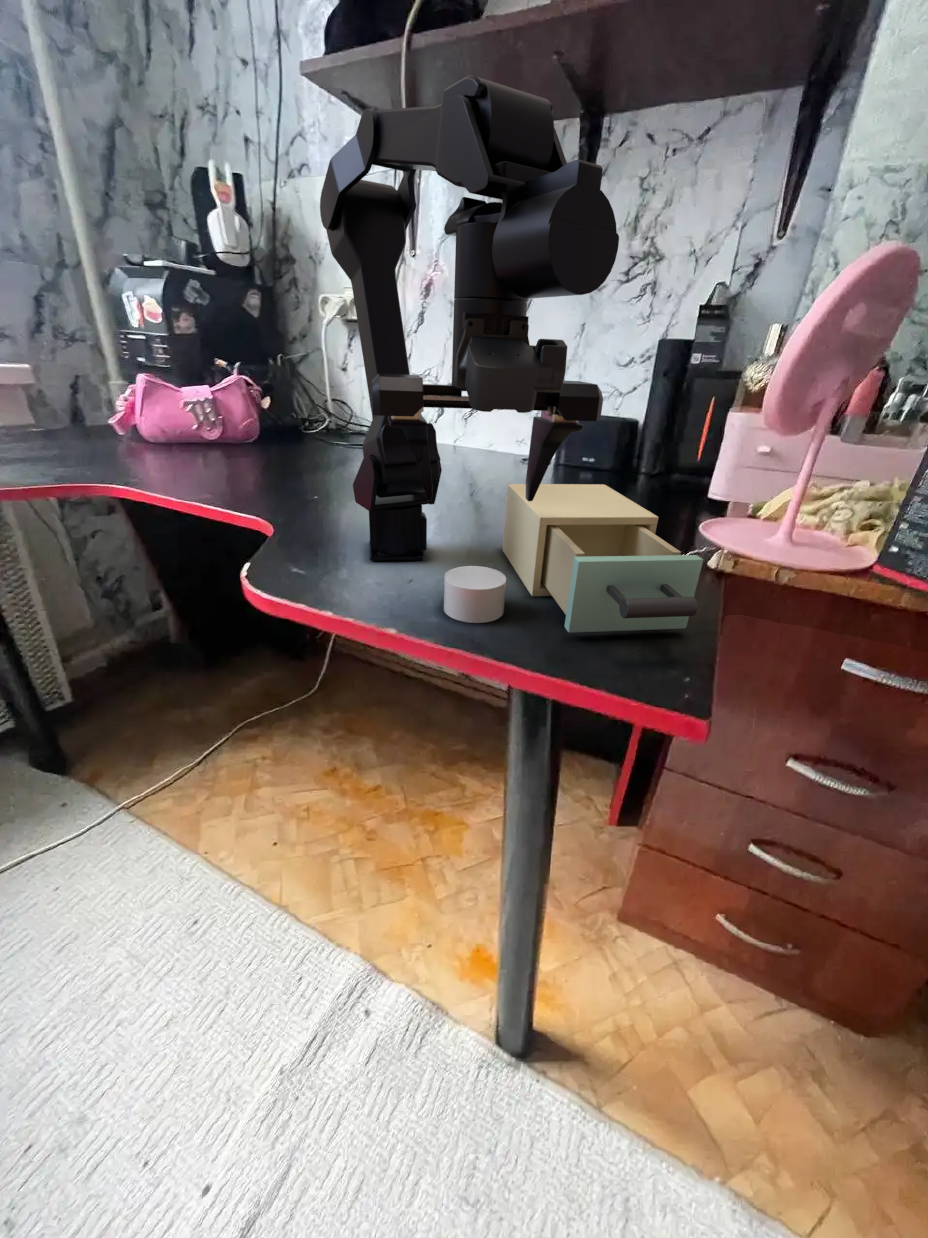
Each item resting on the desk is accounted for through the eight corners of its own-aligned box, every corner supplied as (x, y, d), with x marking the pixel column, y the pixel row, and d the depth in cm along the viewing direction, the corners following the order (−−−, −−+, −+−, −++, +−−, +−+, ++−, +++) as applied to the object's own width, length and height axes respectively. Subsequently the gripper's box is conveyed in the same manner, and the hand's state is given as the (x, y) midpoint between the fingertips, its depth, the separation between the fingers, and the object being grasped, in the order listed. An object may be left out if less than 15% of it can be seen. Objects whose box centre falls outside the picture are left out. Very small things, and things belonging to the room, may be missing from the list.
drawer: (715, 654, 46) (736, 580, 43) (587, 660, 45) (599, 583, 41) (626, 574, 62) (636, 515, 59) (529, 576, 61) (535, 516, 58)
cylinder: (447, 624, 51) (448, 590, 50) (440, 597, 57) (441, 566, 55) (509, 622, 52) (512, 588, 51) (497, 596, 57) (499, 565, 56)
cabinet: (643, 593, 60) (658, 517, 56) (531, 596, 58) (540, 517, 54) (594, 549, 73) (604, 484, 69) (502, 550, 71) (507, 483, 67)
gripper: (368, 284, 34) (376, 527, 41) (649, 301, 37) (611, 526, 44) (369, 297, 44) (375, 491, 51) (590, 310, 47) (567, 492, 54)
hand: (479, 500), depth 49 cm, fingers open, 9 cm apart
